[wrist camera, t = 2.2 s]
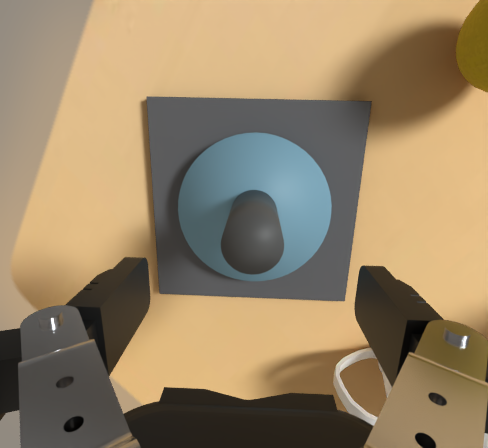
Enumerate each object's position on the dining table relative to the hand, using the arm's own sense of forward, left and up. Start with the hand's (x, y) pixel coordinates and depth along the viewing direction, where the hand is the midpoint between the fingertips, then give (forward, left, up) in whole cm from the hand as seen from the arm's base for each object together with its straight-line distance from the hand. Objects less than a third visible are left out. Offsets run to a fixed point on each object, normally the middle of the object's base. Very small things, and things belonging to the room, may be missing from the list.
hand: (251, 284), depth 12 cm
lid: (0, 0, -10) cm, 10 cm away
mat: (0, 0, -11) cm, 11 cm away
